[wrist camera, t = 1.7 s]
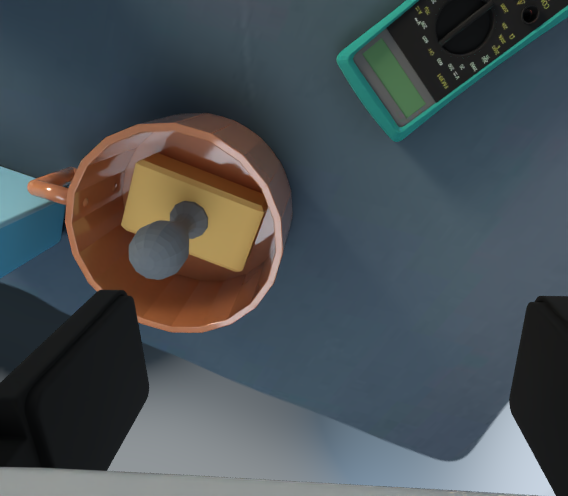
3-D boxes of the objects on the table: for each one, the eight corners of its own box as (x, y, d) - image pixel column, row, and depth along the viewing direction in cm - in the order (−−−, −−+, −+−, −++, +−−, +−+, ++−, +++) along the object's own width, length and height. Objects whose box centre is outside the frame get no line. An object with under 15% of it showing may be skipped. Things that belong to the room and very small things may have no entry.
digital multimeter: (581, 0, 29) (607, -9, 26) (389, 142, 33) (394, 148, 31) (525, -104, 27) (547, -125, 24) (331, 60, 32) (331, 58, 29)
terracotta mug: (314, 143, 34) (309, 162, 26) (266, 303, 39) (252, 356, 32) (85, 76, 34) (17, 76, 26) (70, 246, 39) (9, 286, 32)
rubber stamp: (138, 215, 37) (56, 274, 26) (154, 150, 35) (72, 185, 24) (248, 257, 38) (214, 333, 26) (271, 195, 35) (244, 251, 24)
